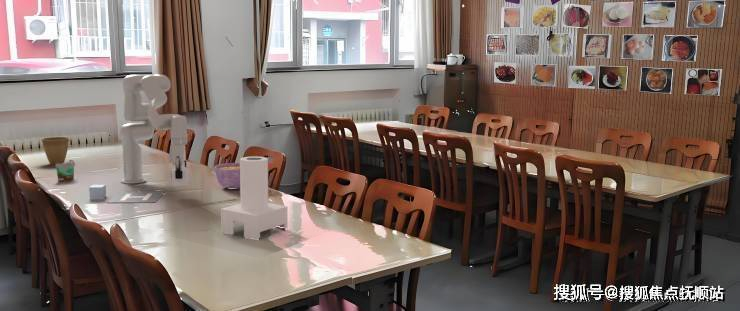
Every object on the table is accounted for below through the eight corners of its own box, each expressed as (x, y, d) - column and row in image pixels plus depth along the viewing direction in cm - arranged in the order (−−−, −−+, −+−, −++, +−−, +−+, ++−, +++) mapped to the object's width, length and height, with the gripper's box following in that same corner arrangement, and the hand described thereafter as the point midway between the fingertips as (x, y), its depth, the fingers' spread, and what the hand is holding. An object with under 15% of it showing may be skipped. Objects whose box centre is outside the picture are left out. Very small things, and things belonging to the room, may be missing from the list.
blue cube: (93, 196, 321) (92, 184, 320) (106, 196, 322) (105, 184, 321) (89, 199, 315) (89, 187, 314) (102, 199, 316) (102, 187, 315)
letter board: (118, 192, 330) (118, 192, 330) (164, 192, 333) (164, 191, 333) (107, 203, 308) (106, 202, 308) (155, 202, 311) (155, 202, 311)
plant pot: (75, 163, 404) (73, 138, 401) (52, 167, 391) (51, 140, 389) (61, 161, 412) (59, 135, 409) (38, 164, 399) (36, 138, 397)
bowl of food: (260, 186, 350) (260, 165, 348) (238, 193, 332) (237, 171, 331) (230, 182, 359) (229, 161, 357) (206, 189, 341) (205, 167, 339)
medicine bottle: (174, 182, 325) (173, 158, 323) (189, 182, 326) (188, 158, 324) (171, 185, 318) (170, 161, 316) (186, 185, 319) (185, 161, 317)
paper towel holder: (256, 241, 254) (255, 164, 249) (221, 233, 264) (219, 159, 259) (287, 230, 270) (287, 158, 265) (253, 222, 280) (252, 153, 275)
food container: (66, 182, 351) (65, 164, 349) (56, 182, 352) (55, 163, 350) (81, 178, 362) (80, 160, 361) (71, 177, 364) (70, 159, 362)
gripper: (174, 138, 326) (175, 173, 329) (167, 143, 309) (169, 180, 312) (189, 138, 327) (190, 173, 330) (184, 143, 310) (185, 180, 313)
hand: (180, 176), depth 321 cm, fingers closed on medicine bottle, 7 cm apart
